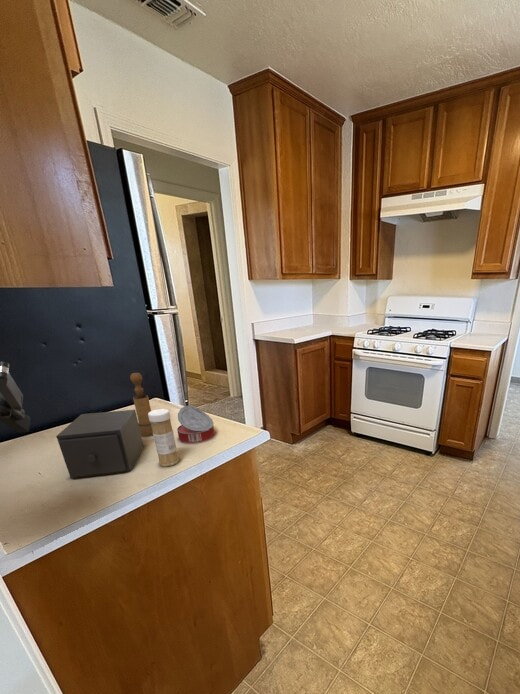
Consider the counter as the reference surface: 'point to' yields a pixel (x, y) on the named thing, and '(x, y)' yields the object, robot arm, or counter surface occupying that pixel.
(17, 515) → the counter surface
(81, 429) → the small drawer cabinet
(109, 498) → the counter surface
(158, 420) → the sprinkles bottle
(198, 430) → the canned food
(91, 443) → the pull-out drawer box
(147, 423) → the mortar and pestle
